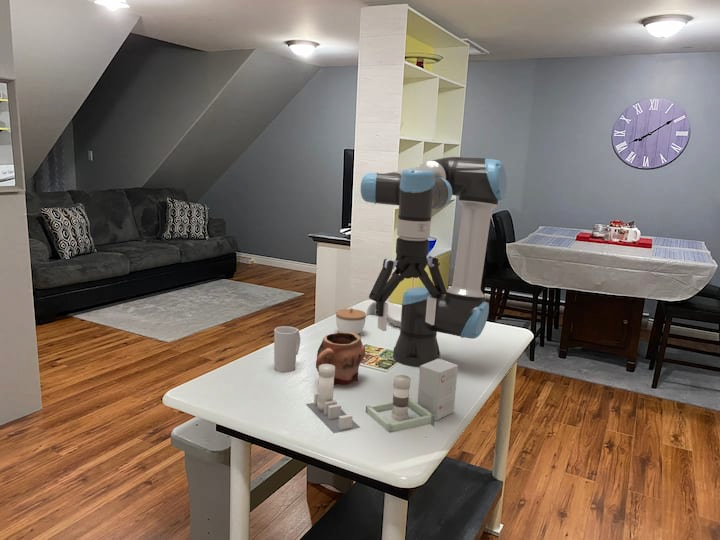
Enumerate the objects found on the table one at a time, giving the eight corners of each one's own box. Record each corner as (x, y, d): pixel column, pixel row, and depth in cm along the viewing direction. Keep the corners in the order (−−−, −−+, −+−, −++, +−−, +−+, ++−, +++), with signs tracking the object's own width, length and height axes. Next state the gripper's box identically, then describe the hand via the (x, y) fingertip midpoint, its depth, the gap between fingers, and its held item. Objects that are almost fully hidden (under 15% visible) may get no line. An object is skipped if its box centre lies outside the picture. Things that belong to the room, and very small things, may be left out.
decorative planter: (338, 402, 148) (340, 352, 145) (299, 391, 154) (301, 342, 151) (372, 377, 166) (375, 332, 163) (336, 368, 171) (338, 324, 168)
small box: (434, 403, 151) (438, 357, 148) (454, 412, 147) (458, 364, 144) (415, 412, 145) (419, 365, 142) (435, 421, 141) (440, 372, 138)
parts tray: (408, 408, 147) (409, 397, 147) (433, 427, 138) (434, 416, 137) (365, 417, 141) (365, 406, 140) (388, 437, 132) (389, 426, 131)
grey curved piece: (424, 327, 217) (425, 309, 215) (404, 332, 209) (405, 314, 207) (379, 312, 233) (380, 295, 232) (359, 317, 225) (360, 299, 223)
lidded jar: (330, 330, 206) (331, 305, 204) (357, 327, 210) (358, 303, 208) (342, 339, 196) (343, 314, 194) (369, 337, 201) (371, 311, 199)
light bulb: (401, 415, 142) (404, 374, 140) (410, 422, 138) (413, 380, 136) (388, 418, 140) (390, 376, 138) (396, 425, 137) (399, 382, 134)
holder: (330, 404, 147) (332, 359, 144) (360, 433, 133) (363, 383, 130) (305, 409, 143) (307, 363, 141) (333, 439, 130) (335, 388, 127)
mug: (285, 374, 164) (287, 335, 162) (268, 368, 168) (269, 330, 165) (307, 364, 173) (309, 327, 170) (290, 359, 176) (291, 322, 174)
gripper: (374, 242, 121) (368, 337, 125) (466, 239, 133) (457, 325, 137) (357, 236, 127) (352, 327, 132) (446, 233, 139) (439, 316, 144)
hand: (406, 326), depth 134 cm, fingers open, 13 cm apart
